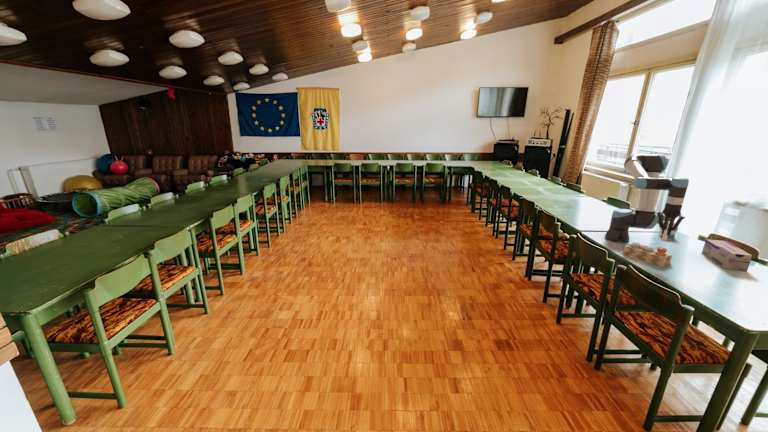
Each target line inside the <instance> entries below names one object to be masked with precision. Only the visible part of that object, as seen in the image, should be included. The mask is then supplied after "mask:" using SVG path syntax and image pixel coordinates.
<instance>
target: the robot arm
mask: <svg viewBox="0 0 768 432" xmlns="http://www.w3.org/2000/svg"><path fill="white" fill-rule="evenodd" d="M667 167H668V161H667V157H666V156H665V155H664V154H659V153H652V154H651V153H635V154H632V155H631V156H629V157H627V159H625V161H624V168H625V170H626V171H627V172H629V173H630V175H631V176H632V177H633V179H634V180H633V187H634V188H635V189H638V190H640V193H639V199H638V206H637V208H635V209H634V211H633V210H632V209H630V208H629V209H627V208H617V209H614V210H613V211H612V213H611V220H610V223H609V228H608V230H607V231H606V233H605V235H604V238H605V239H606V240H608V241H611V242H615V243H628V242H629V241H630V233H629V229H630V228H633V229H643V230H652V229H654V228H655V227H656V225H657V224H658V226H659V229H660V228H662V229H663V230H662V234H663V236H661V237H662V238H661V240H662V241H667V240H668V238H669V237H668V236H669V235H670V234H671V231H674V230H676V231H677V229H678V227H679V225H680V224H681V223H682V221H683V220H684V219H686V216H683V215H682V209H683V204H684V200H685V196H686V194H687V190H688V186H689V181H690V180H689V178H686V177H681V176H680V177H679V176H678V177H670V176H669V177H659V176H660V175H661V174H662V173H663V172H664V171H665V170H666V169H667ZM657 191H668V193H667V197H666V200H665V201H666V202H665V205H664V208H663V210H662V211H659V212H657V213H656V210H655V209H654V205H655V198H656V192H657ZM676 218H678V219H677V220H676ZM675 220H676V221H675ZM663 221H664V224H663ZM669 221H670V223H669V227H668V230H667V226H668V222H669ZM674 222H676V223H675V225H674V226H673V224H674Z"/></svg>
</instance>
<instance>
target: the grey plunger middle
mask: <svg viewBox="0 0 768 432" xmlns="http://www.w3.org/2000/svg"><path fill="white" fill-rule="evenodd" d="M643 246H644V251H648V252H651V251H653V249H654V247H652V246H649V245H643Z"/></svg>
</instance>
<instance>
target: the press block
mask: <svg viewBox="0 0 768 432" xmlns="http://www.w3.org/2000/svg"><path fill="white" fill-rule="evenodd" d="M644 246H645V245H640V247H639V248H638V249H637V248H634V247H632V243H630V244H627V245H624V249H623V252H622V255H624V256H628V257H631V258H633V257H634V259H636V258H637V260H640V261H644V262H646V261H647V262H646V263H650V264H652V263H653V264H652V265H655V264H656V266H658V265H659V267H661V266H662V267H664V266H667V265H669V264H671V262H672V258H673V254H671V253H668V252H665V256H661V255H658V254H657V249H654V248H653V251H651V252H648V251H644ZM662 267H661V268H662Z"/></svg>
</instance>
